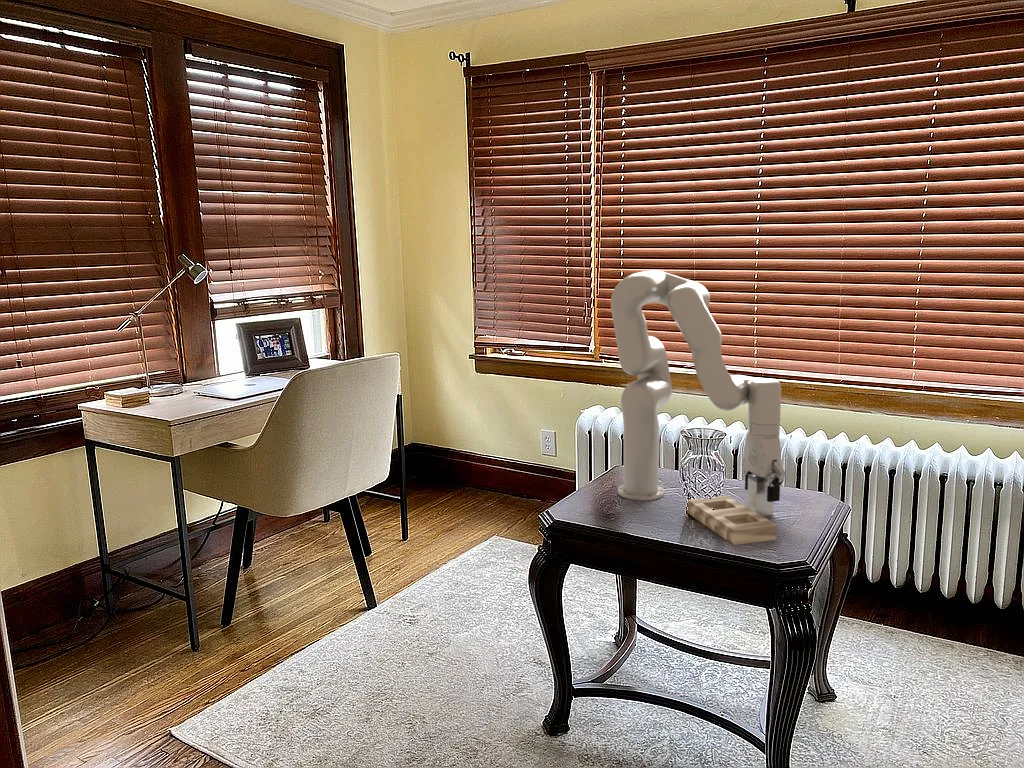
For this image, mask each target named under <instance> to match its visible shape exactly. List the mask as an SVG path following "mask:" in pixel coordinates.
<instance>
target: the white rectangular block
mask: <svg viewBox="0 0 1024 768" xmlns="http://www.w3.org/2000/svg"><path fill="white" fill-rule="evenodd" d="M771 478H772V481H773V480H774V479H775V477H771ZM767 486H769V483H768V481H767V478H766V477H760V476H758V475H756V474H754V473H753V474H748V490H747V495H746V499H747V500H746V507H747V508H749V509H751V510H752V511H754V512H756V513H758V514H759V515H761V516H763V517H767V516H768V517H769V516H773V515H774V505H775V504H774V503H775V501H774V502H768V501H767Z"/></svg>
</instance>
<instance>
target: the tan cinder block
mask: <svg viewBox="0 0 1024 768" xmlns="http://www.w3.org/2000/svg"><path fill="white" fill-rule="evenodd" d="M715 497H716V496H715ZM702 498H703V497H701V498H691V499H687V514H688V513H689V514H688V515H689V516H691V517H693V518H694V519H695V520H697V521H698V522H700V523H701V524H703V525H704V526H706V528H708V529H710V530H711V531H712V532H714V533H715V534H717V535H719V536H720V537H722V538H723V539H725V540H726V542H729V543H730V544H732V545H733V546H738V545H744V544H745V545H746V544H753V543H759V542H761V543H762V542H767V541H774V540H777V535H778V534H777V530H778V524H776V523H775V522H772V521H771V520H769V519H767V518H766V517H765V516H761V515H759V514H758V513H756V512H754V511H752V510H751V509H749V508H747V505H744V504H742V503H740V502H739V501H737V500H735V499H733V498H732V497H730V496H729V495H718V496H717V497H716V498H711V499H702ZM711 508H713V509H714V510H712V509H711Z"/></svg>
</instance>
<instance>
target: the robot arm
mask: <svg viewBox="0 0 1024 768" xmlns="http://www.w3.org/2000/svg"><path fill="white" fill-rule="evenodd" d="M610 297H611V298H610V311H611V316H612V321H613V326H614V335H615V340H616V341H615V342H616V347H617V348H616V349H617V353H618V359H619V364H620V367H621V369H622V371H623V372H624V373H626V374H627V375H631V376H636V378H637V379H636V380H634V381H631V382H630V383H629V384H628V385H626V387H625V388H624V389H623V391H622V393H621V396H620V397H621V398H620V405H621V406H620V407H621V412H622V421H623V423H622V424H623V466H622V467H623V473H622V478H623V480H622V481H623V482H622V484H620V485H619V486H618V488H617V494H618V495H619V496H620V497H622V498H624V499H626V500H627V499H628V500H631V501H643V502H644V501H645V502H646V501H654V500H659V499H660V498H663V497H664V496H665V489H664V488H663V487H662V486H661V485H660V483H659V482H660V481H659V478H660V424H659V423H660V422H659V418H658V410H659V409H661V408H663V407H665V406H666V405H667V404H668V403H669V401H670V400H671V398H672V393H673V392H672V391H673V390H672V389H673V387H672V379H671V374H670V366H669V360H668V355H667V351H666V349H665V346H664V344H663V343H662V342H661V341H660V340H659V339H658V338H657V337H655V336H653V335H649V332H648V323H647V320H646V317H645V315H644V312H643V309H642V308H643V307H644V306H645V305H648V304H649V305H650V304H653V303H657V304H661V305H664V306H666V307H667V309H668V311H669V313H670V314H671V316H672V318H673V320H674V321H675V324H676V326H677V328H678V329H679V330H680V332H681V334H682V336H683V338H684V340H685V342H686V344H687V345H688V346H689V349H690V351H691V356H692V361H693V365H694V369H695V373H696V376H697V378H698V381H699V382H700V385H701V386H702V388H703V390H704V391H705V393H706V395H707V397H708V398H709V400H710V402H711V403H712V404H713V405H714V406H715V407H716V408H717V409H720V410H722V411H724V412H725V411H726V412H729V411H733V410H735V409H737V408H739V407H740V406H742V405H745V404H748V410H747V414H748V416H747V418H748V419H747V431H746V435H745V439H744V445H743V446H744V447H743V453H742V454H741V460H742V466H743V468H744V470H743V473H744V476H745V477H744V478H745V479H744V481H745V482H744V490H746V491H748V474H753V473H754V474H756V475H758V476H760V477H766V478H767V481H768V483H769V486H767V501H768V502H774V503H775V502H779V501H780V498H781V497H780V496H781V494H780V493H781V486H782V483H784V480H785V477H786V475H787V474H786V471H785V470H784V468H783V467H782V449H781V440H780V435H781V433H780V432H781V408H782V406H781V405H782V384H781V382H780V381H779V380H777V379H774V378H766V377H762V378H761V377H760V378H757V377H756V378H755V377H752V376H748V375H742V374H733V375H731V374H730V373H729V371H728V368H727V367H726V364H725V362H724V359H723V356H722V342H723V335H722V332H721V329H720V328H719V326H718V325H717V323H716V321H715V319H714V318H713V316H712V314H711V313H710V310H709V309H708V307H709V305H710V302H711V295H710V293H709V290H708V289H707V288H706V287H705V286H704V285H703V284H701V283H699V282H697V281H694V280H691V279H688V278H683V277H680V276H678V275H675V274H671V273H668V272H665V271H662V270H647V271H646V270H645V271H639V272H635V273H631V274H629V275H627V276H625V277H624V278H623V279H621V280H620V281H619V282H618V284H617V285H616V286H614V289H613V291H612V293H611V296H610ZM771 477H775V479H774V480H773V481H772V478H771Z"/></svg>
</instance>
